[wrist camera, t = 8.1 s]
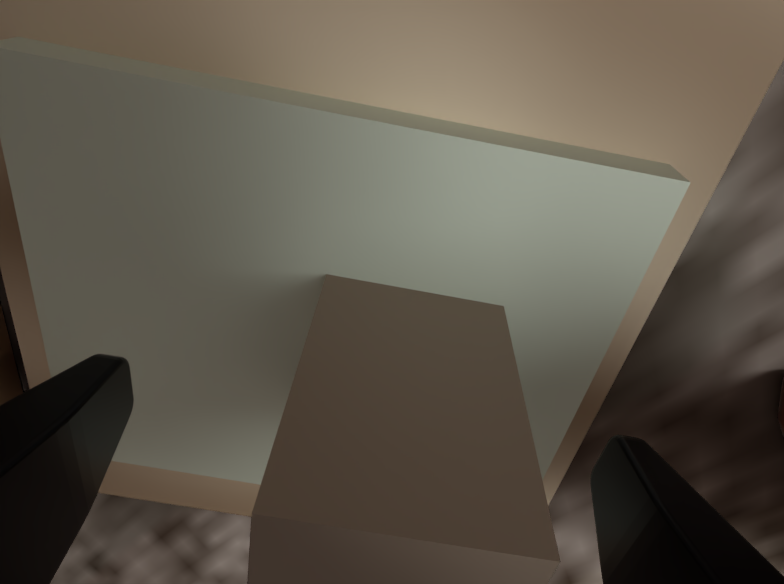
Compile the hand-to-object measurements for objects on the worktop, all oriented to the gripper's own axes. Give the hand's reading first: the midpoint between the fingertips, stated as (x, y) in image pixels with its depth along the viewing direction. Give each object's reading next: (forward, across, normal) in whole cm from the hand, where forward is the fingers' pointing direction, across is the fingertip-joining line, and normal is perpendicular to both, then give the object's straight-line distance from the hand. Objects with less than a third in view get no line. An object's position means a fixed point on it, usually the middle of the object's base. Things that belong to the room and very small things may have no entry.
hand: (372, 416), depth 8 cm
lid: (+3, +1, 0) cm, 3 cm away
